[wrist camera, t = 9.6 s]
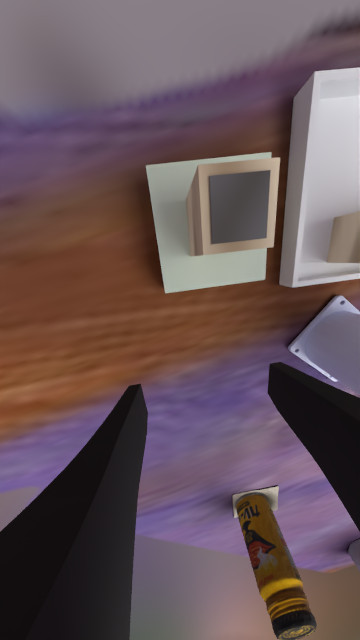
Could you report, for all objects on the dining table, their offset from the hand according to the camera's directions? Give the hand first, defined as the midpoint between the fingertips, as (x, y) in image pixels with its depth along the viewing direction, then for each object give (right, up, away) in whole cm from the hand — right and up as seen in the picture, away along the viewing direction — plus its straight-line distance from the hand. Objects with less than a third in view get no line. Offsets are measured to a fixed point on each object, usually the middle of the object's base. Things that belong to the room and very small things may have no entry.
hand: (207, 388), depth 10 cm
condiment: (+12, -30, +23) cm, 39 cm away
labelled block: (+1, +11, +4) cm, 12 cm away
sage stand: (+1, +12, +6) cm, 13 cm away
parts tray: (+15, +15, +6) cm, 22 cm away
